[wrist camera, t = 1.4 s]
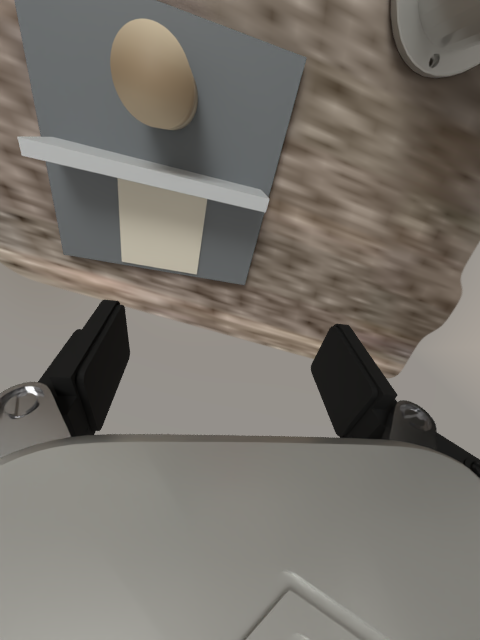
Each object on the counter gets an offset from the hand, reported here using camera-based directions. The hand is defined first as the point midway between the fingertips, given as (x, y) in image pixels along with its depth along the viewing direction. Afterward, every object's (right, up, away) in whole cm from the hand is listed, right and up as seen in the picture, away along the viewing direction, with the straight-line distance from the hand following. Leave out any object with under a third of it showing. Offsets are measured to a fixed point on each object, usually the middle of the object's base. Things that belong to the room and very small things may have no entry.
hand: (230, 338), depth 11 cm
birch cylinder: (-6, +20, +10) cm, 24 cm away
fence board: (-7, +16, +14) cm, 23 cm away
